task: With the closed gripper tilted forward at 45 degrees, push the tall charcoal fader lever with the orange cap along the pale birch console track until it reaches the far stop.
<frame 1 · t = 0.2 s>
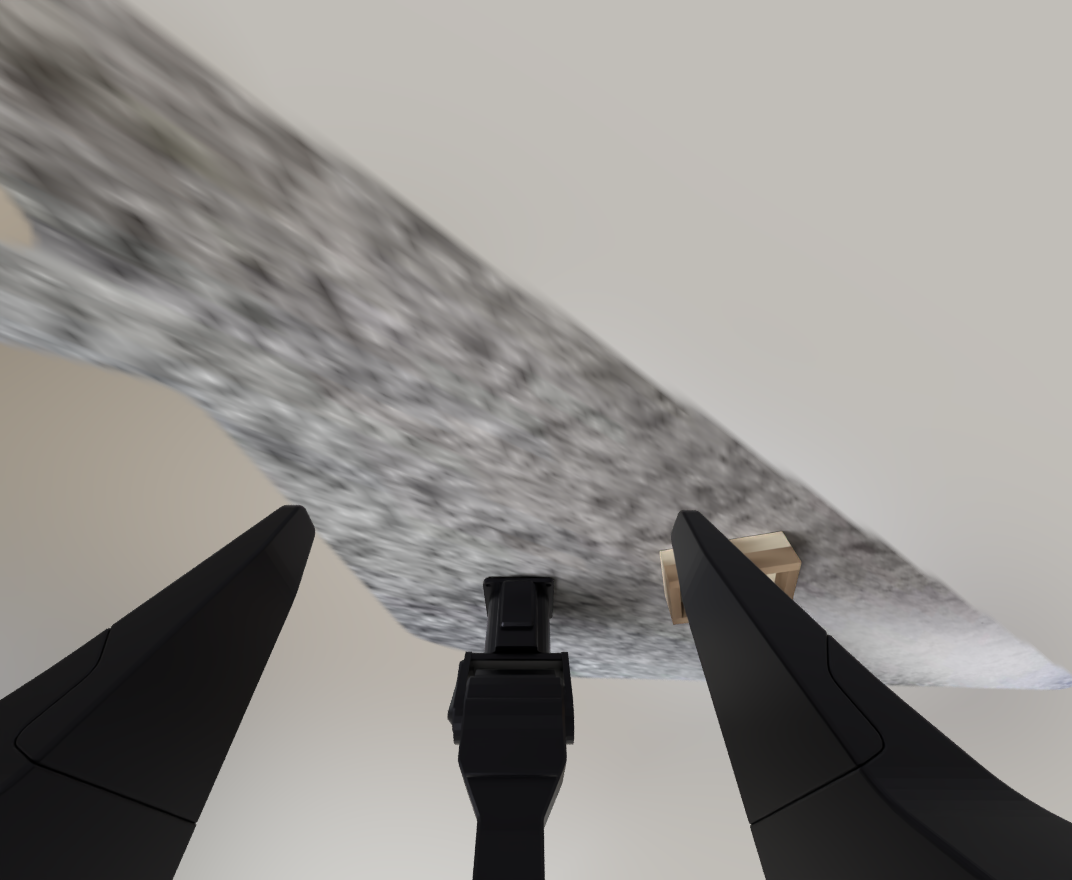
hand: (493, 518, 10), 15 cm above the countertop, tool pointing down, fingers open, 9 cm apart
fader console: (718, 565, 35), on the countertop
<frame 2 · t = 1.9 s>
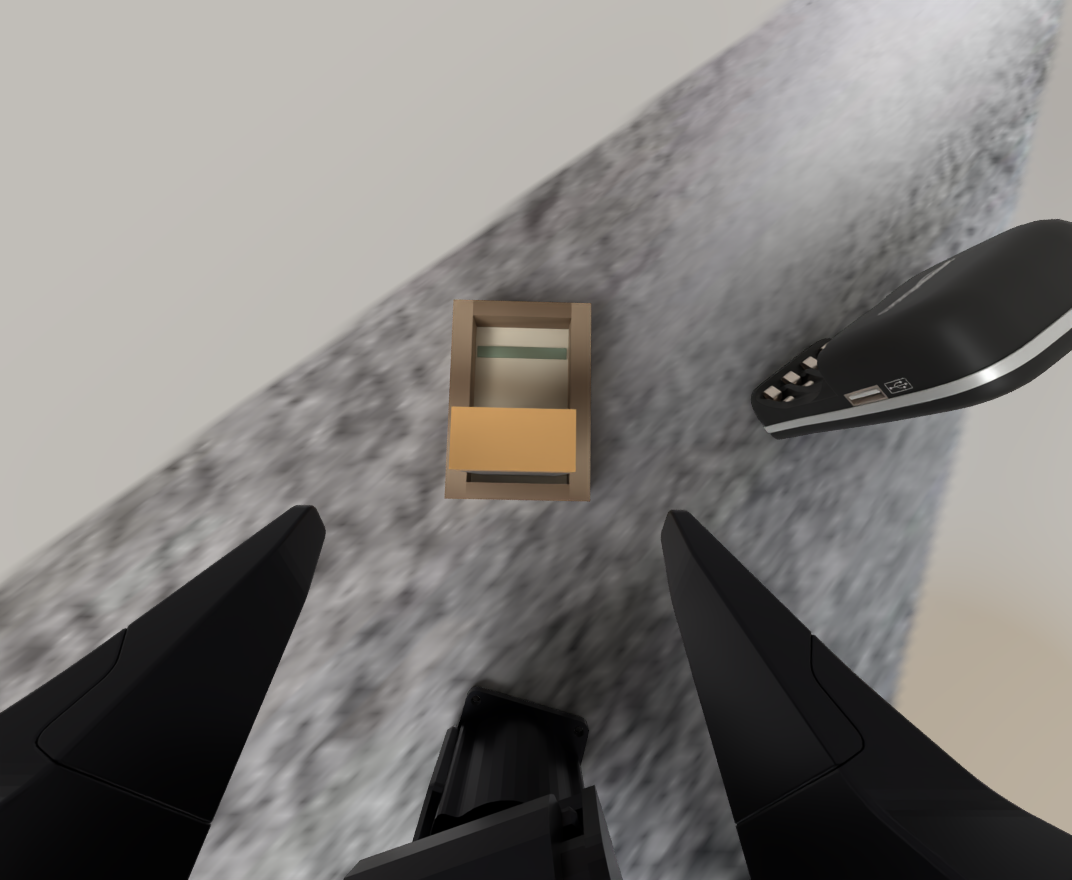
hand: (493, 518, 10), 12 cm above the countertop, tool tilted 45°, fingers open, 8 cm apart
fader lever: (517, 449, 16), point 6 cm above the countertop, slide at 0.0 cm
battery charger: (792, 384, 23), on the countertop
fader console: (521, 409, 22), on the countertop
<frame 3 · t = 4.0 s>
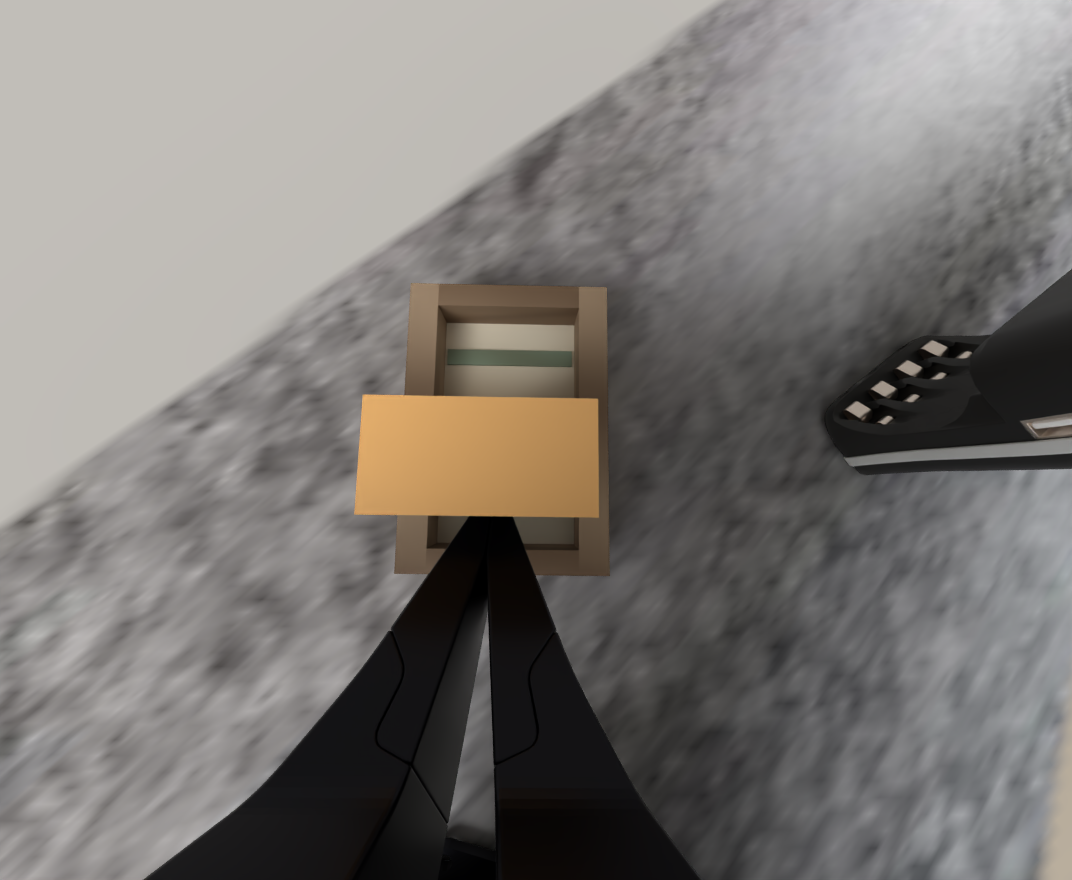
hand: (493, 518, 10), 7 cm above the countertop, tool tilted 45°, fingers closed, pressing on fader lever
fader lever: (498, 468, 11), point 6 cm above the countertop, slide at 1.1 cm, touching gripper
battery charger: (877, 398, 17), on the countertop
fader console: (510, 435, 16), on the countertop
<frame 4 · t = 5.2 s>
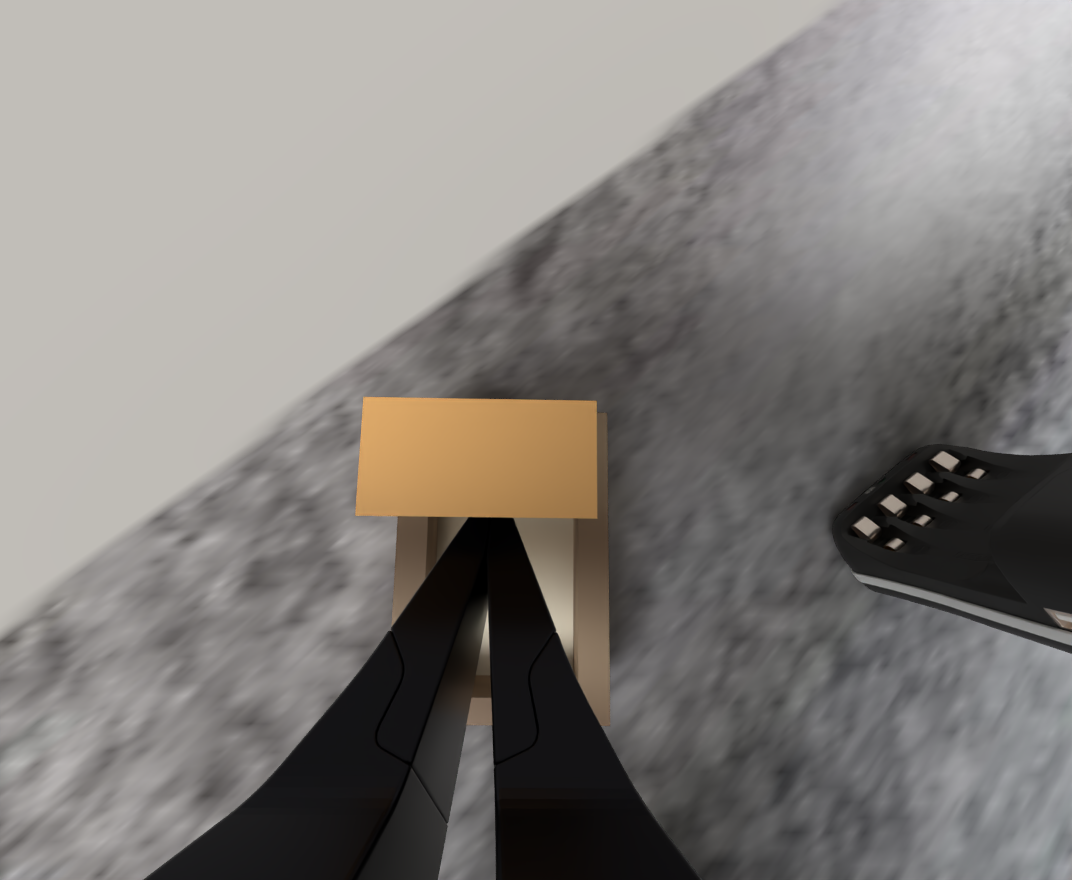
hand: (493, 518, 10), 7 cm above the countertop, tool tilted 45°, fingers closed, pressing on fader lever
fader lever: (497, 469, 11), point 6 cm above the countertop, slide at 5.7 cm, touching gripper
battery charger: (885, 504, 17), on the countertop
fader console: (507, 547, 16), on the countertop
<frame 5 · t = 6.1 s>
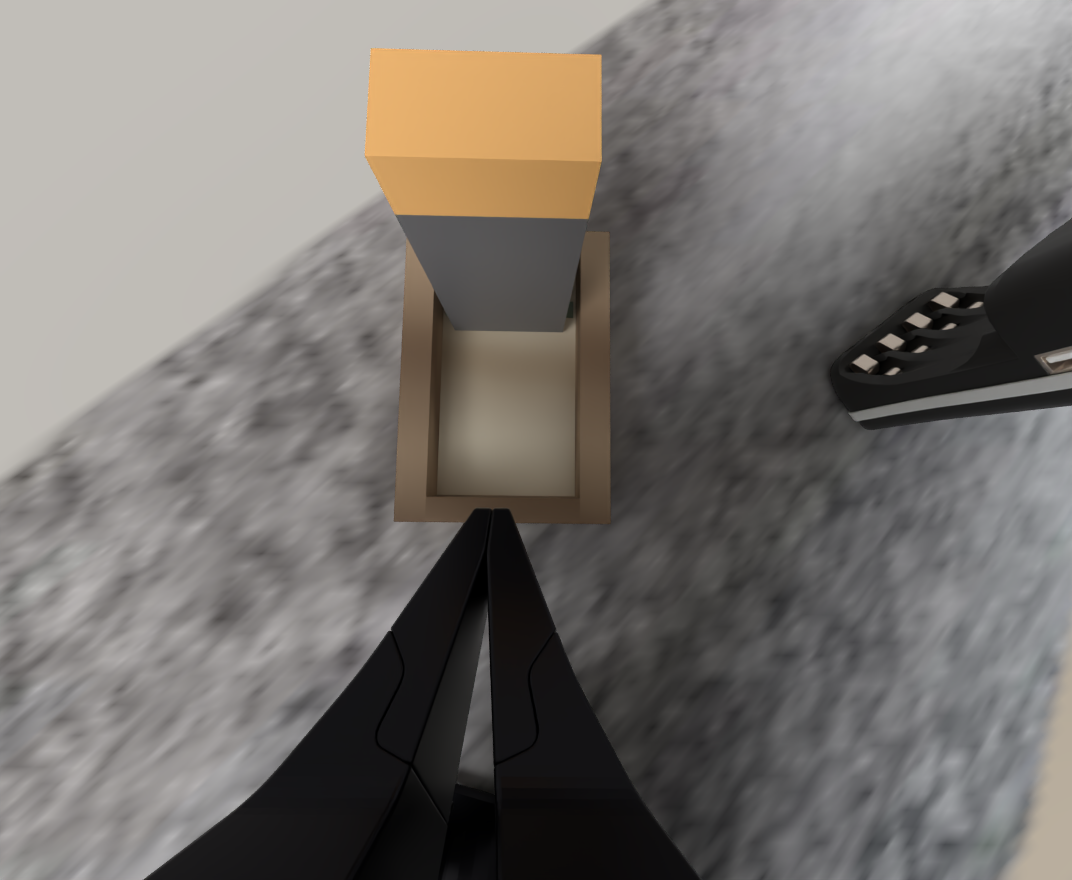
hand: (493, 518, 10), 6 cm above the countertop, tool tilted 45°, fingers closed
fader lever: (501, 242, 11), point 6 cm above the countertop, slide at 5.7 cm
battery charger: (884, 353, 17), on the countertop
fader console: (510, 390, 16), on the countertop
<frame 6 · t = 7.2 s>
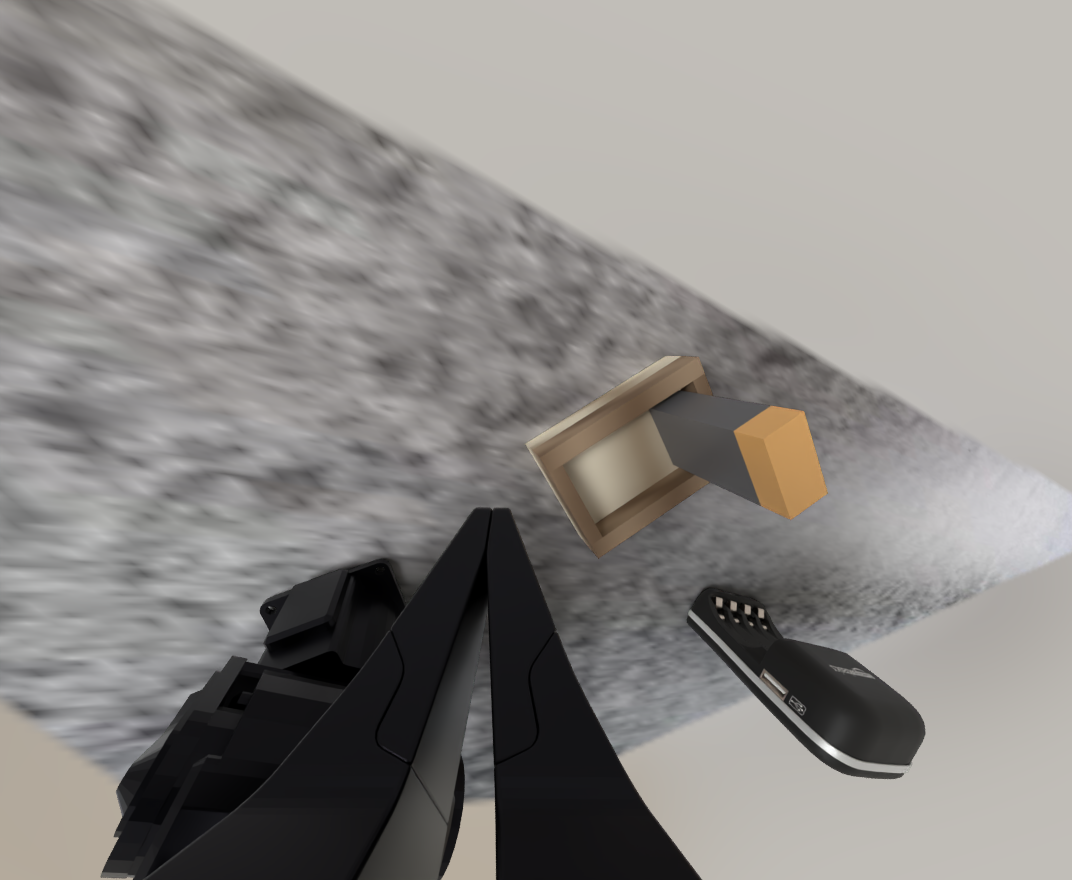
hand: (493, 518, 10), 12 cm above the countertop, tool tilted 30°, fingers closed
fader lever: (724, 444, 19), point 6 cm above the countertop, slide at 5.7 cm
battery charger: (723, 603, 30), on the countertop
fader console: (621, 447, 24), on the countertop
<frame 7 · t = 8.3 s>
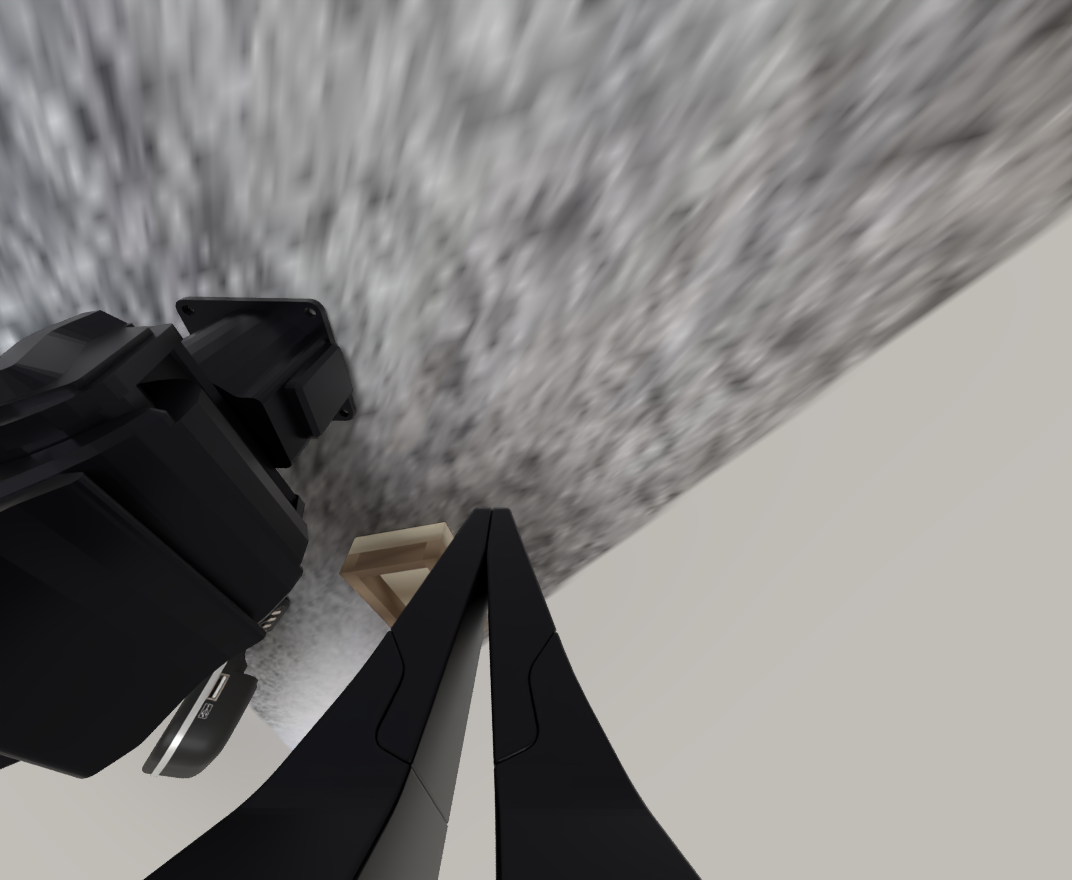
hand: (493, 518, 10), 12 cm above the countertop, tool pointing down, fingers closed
battery charger: (270, 605, 35), on the countertop
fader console: (427, 569, 31), on the countertop
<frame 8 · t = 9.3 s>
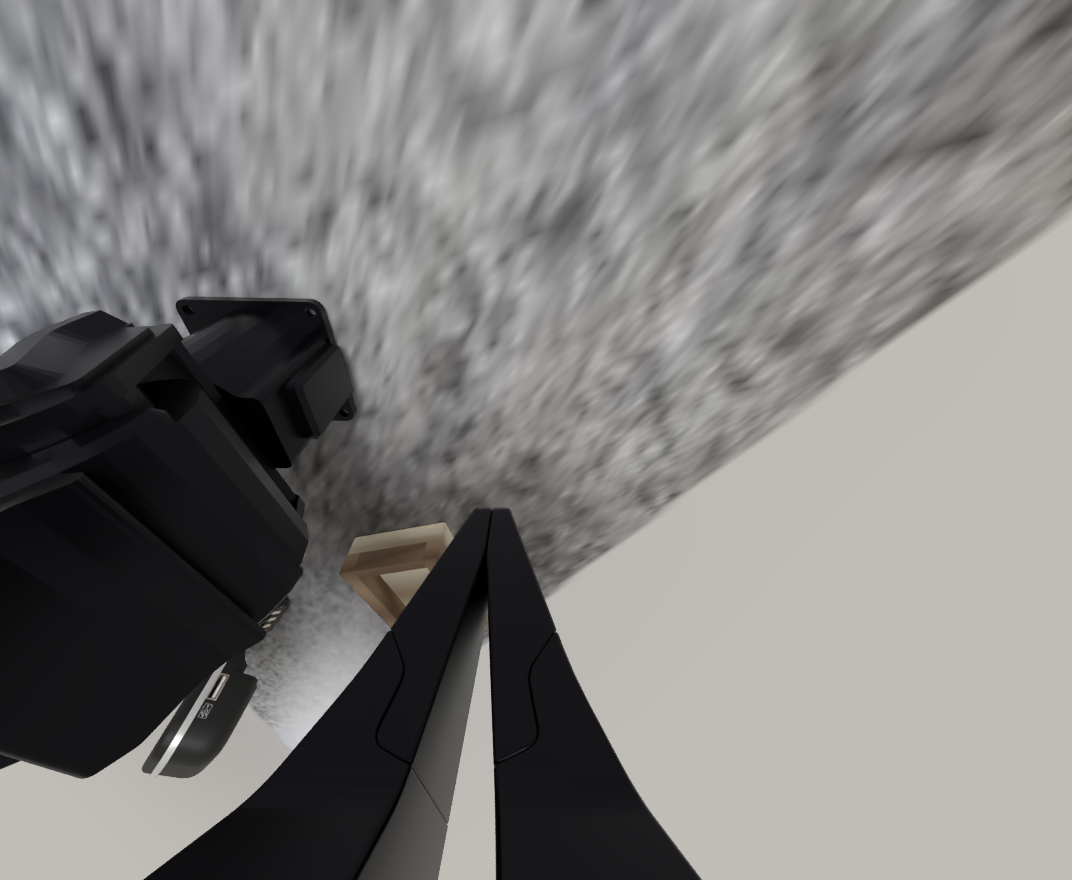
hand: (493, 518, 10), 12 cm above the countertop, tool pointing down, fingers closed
battery charger: (270, 605, 35), on the countertop
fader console: (427, 569, 31), on the countertop
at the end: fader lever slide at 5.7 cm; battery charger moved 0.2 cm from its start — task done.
